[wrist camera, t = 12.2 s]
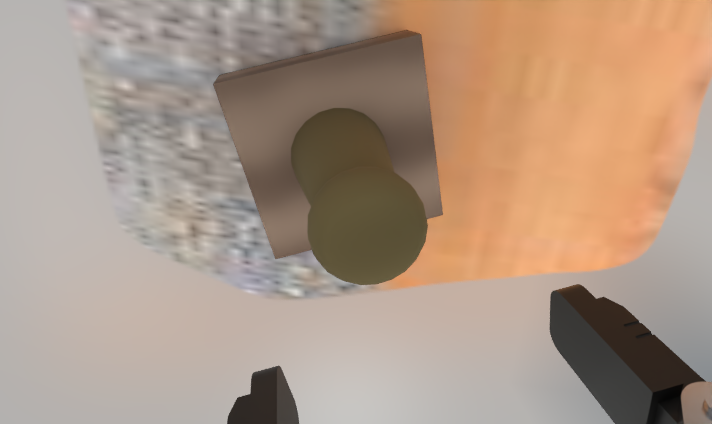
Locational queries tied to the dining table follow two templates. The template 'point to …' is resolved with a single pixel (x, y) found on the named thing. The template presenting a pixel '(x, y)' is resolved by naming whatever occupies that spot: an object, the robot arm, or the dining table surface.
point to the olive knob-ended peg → (356, 199)
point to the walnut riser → (319, 93)
